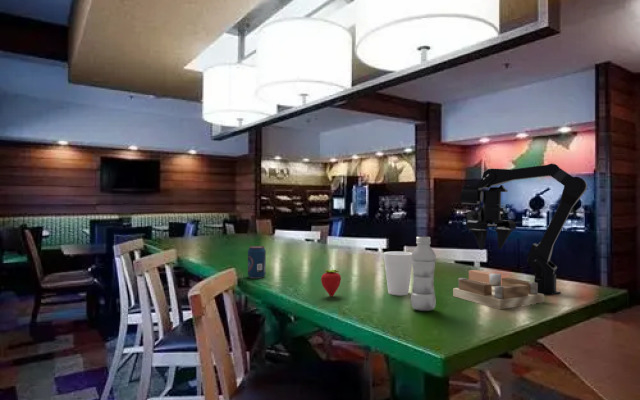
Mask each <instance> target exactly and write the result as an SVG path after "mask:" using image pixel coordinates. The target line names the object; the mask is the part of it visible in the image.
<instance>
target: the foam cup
mask: <svg viewBox="0 0 640 400" xmlns="http://www.w3.org/2000/svg"><path fill="white" fill-rule="evenodd" d="M412 253H413V252H410V251H385V252H383V262H384V269H385V276H386V284H387V292H388V294H389V295H393V296H407V295H408V294H409V292H410V284H411V277H412V271H413V266H412V257H411V256H412Z"/></svg>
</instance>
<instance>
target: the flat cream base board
mask: <svg viewBox="0 0 640 400" xmlns="http://www.w3.org/2000/svg"><path fill="white" fill-rule="evenodd" d="M452 292H453V293H452V295H453V297H454V298H455V297H456V298H459V299H461V300H465V301H469V302H473V303H477V304H480V305H484V306H487V307H490V308H495V309H497V310H503V309H505V310H506V309H510V308H511V309H512V308H517V306H518V307H523V306H522V305H525V306H531V305H530V304H532V305H537V304H536V303H539V304H544V303H545V297H544V296H545V294H540V293H538V283H536V282H534V281H528V280H522V279H517V278H512V277H501V285H492V284H488V283H483V282H479V281H474V280H470V279H469V278H465V277H458V287H454V288H452ZM543 302H544V303H543Z"/></svg>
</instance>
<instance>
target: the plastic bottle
mask: <svg viewBox="0 0 640 400" xmlns="http://www.w3.org/2000/svg"><path fill="white" fill-rule="evenodd" d="M415 240H416V242H415V243H416V247H415V248H414V249H413V251H412V252H411V253H412V256H411V257H412V275H413V276H412V277H413V278H412V281H413V282H412V292H411V294H410V303H411V307H412V308H413V309H414V310H416V311H420V312H426V311H427V312H429V311H433V310H434V309H435V308H436V303H437V302H436V301H437V299H436V294H435V285H434V284H435V283H434V279H435V277H434V276H435V266H436V259H437V257H436V256H437V255H436V253H435V251H434V250H433V248H432V247H431V246H430V245H431V243H432V242H431V237H430V236H416V239H415Z"/></svg>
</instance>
